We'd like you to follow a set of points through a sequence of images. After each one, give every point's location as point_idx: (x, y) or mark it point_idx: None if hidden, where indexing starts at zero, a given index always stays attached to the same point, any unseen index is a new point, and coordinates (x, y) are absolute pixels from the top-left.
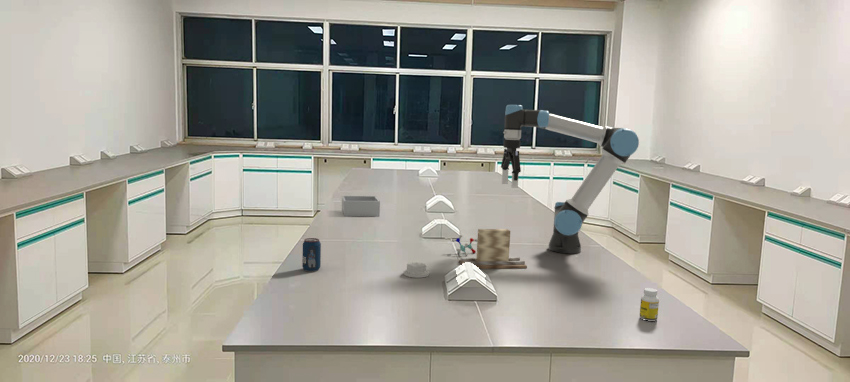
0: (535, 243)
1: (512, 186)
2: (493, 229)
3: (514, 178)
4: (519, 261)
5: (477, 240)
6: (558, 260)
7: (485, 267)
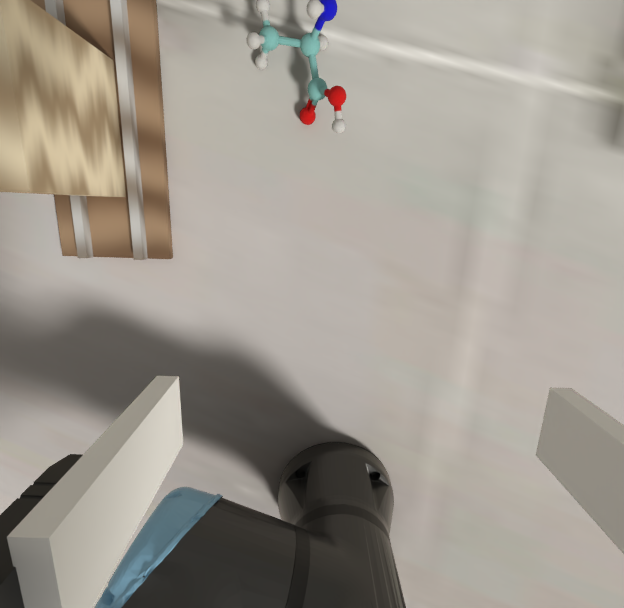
0: (451, 436)
1: (150, 389)
2: (2, 90)
3: (56, 477)
4: (78, 236)
5: (49, 14)
6: (187, 410)
7: None
